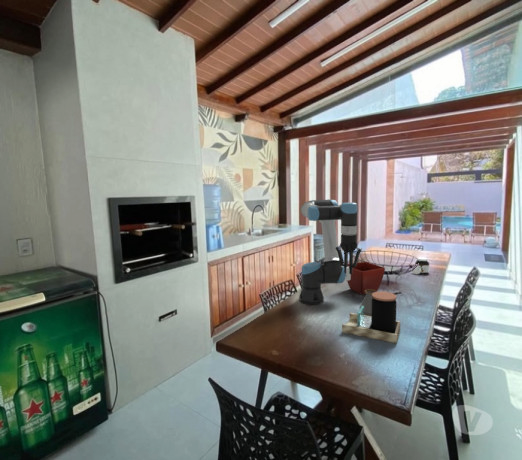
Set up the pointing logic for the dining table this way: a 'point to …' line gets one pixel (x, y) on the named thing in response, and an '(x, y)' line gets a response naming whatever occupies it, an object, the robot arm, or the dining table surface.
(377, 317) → the coffee jar
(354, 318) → the channel
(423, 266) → the spread jar
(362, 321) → the teal piece
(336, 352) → the dining table surface
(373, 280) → the plant pot
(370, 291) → the coffee pot
